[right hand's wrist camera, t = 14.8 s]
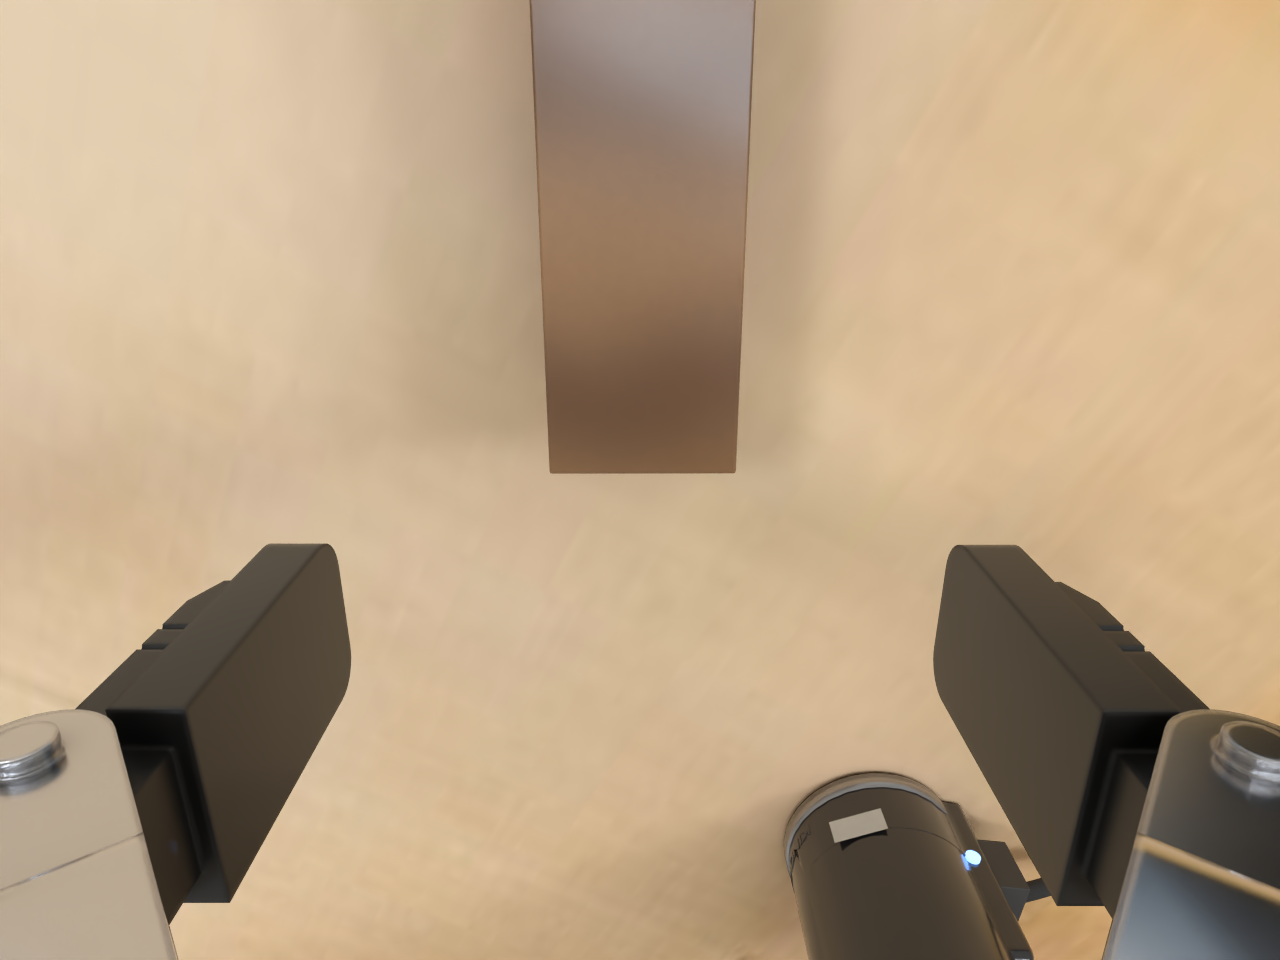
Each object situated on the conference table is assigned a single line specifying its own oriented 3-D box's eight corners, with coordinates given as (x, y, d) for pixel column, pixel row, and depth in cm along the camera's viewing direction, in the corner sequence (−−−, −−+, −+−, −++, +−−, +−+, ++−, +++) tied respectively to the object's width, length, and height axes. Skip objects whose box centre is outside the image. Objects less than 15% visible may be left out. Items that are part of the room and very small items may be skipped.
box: (707, 384, 37) (735, 474, 27) (575, 384, 37) (549, 474, 27) (724, -203, 30) (773, -412, 19) (557, -203, 30) (511, -412, 19)
